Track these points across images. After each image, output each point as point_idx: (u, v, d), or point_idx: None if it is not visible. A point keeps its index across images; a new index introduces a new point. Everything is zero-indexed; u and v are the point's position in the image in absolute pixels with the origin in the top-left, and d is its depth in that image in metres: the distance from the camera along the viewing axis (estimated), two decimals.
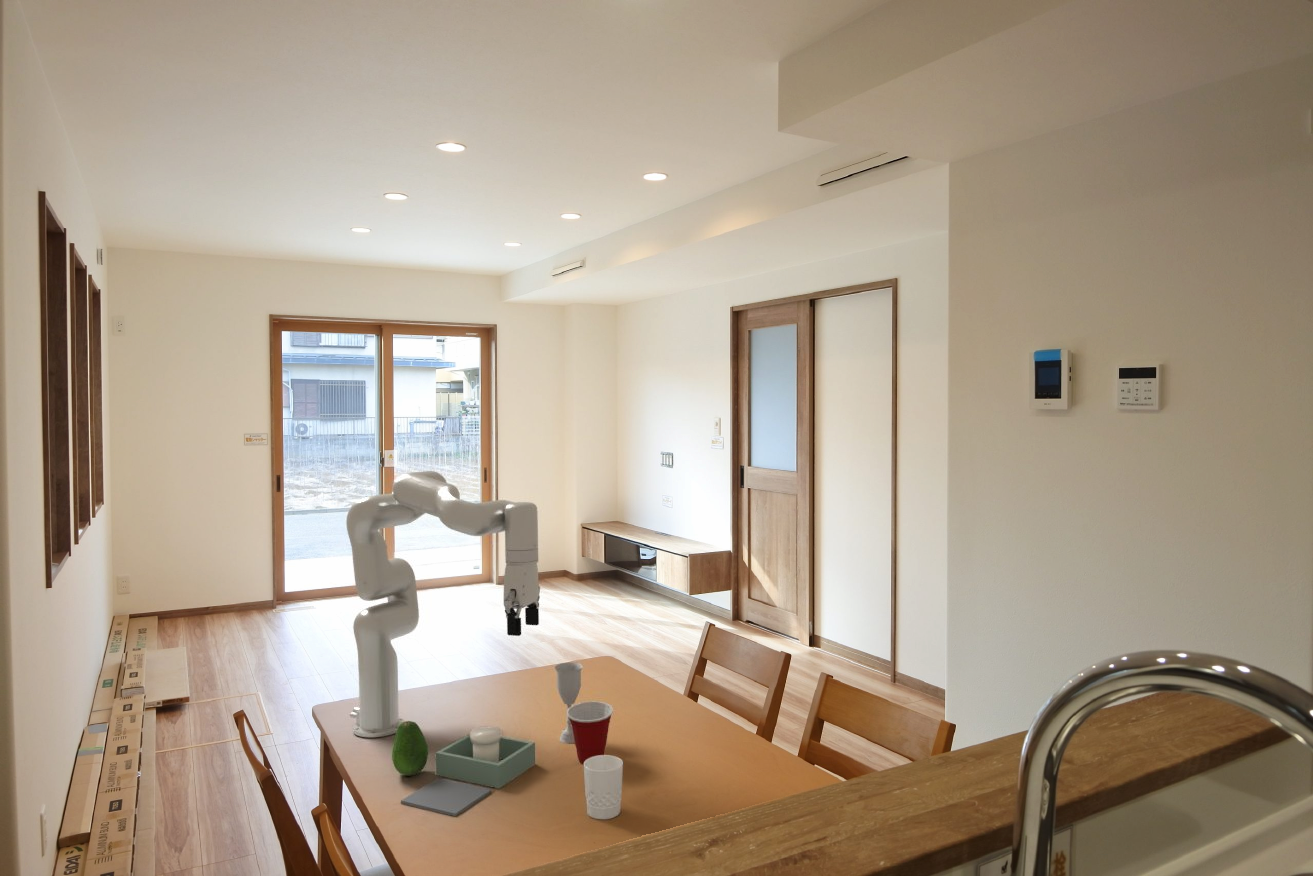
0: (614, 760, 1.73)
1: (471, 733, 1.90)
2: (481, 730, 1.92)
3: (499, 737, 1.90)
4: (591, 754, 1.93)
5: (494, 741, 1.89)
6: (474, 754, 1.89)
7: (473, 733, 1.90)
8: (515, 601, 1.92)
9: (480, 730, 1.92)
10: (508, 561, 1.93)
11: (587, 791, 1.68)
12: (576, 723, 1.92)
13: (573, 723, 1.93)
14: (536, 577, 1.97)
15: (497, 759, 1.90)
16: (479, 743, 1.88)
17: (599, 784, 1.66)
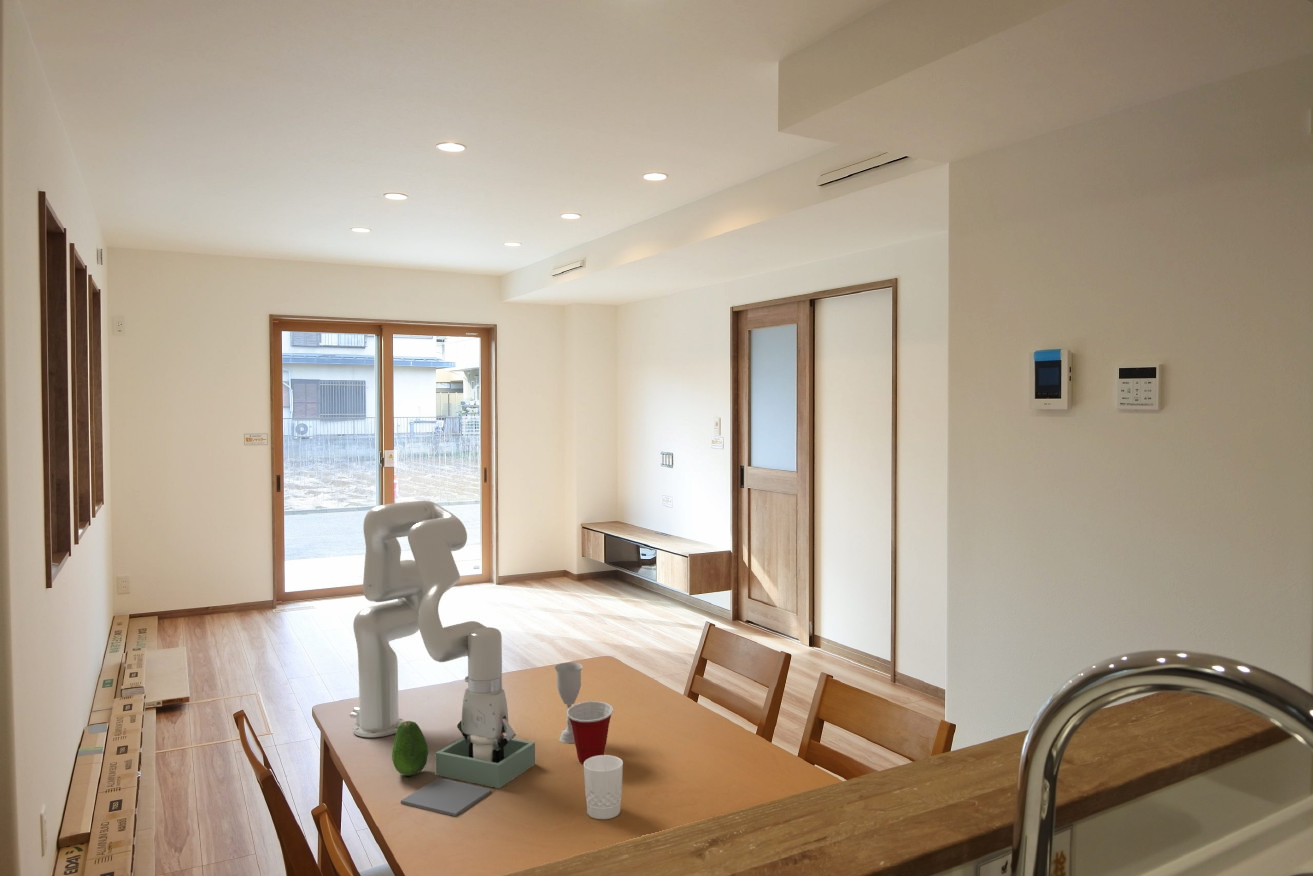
0: (614, 760, 1.73)
1: None
2: None
3: (499, 737, 1.90)
4: (591, 754, 1.93)
5: None
6: (474, 754, 1.89)
7: None
8: None
9: None
10: (492, 691, 1.88)
11: (587, 791, 1.68)
12: (576, 723, 1.92)
13: (573, 723, 1.93)
14: None
15: None
16: (479, 743, 1.88)
17: (599, 784, 1.66)
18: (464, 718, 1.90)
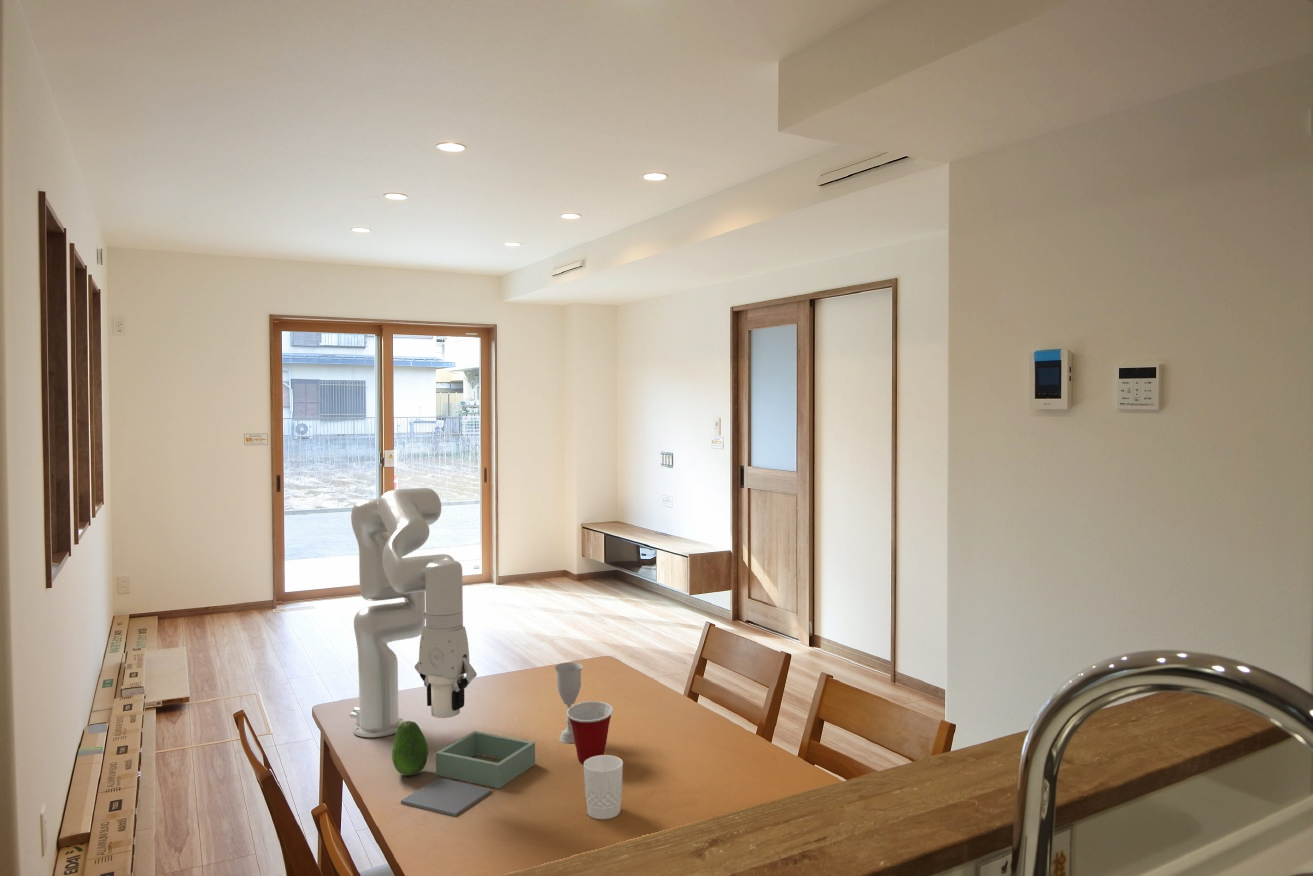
0: (614, 760, 1.73)
1: None
2: None
3: (459, 677, 1.75)
4: (591, 754, 1.93)
5: None
6: (432, 696, 1.75)
7: None
8: None
9: None
10: (451, 627, 1.73)
11: (587, 791, 1.68)
12: (576, 723, 1.92)
13: (573, 723, 1.93)
14: None
15: None
16: (437, 683, 1.73)
17: (599, 784, 1.66)
18: (421, 657, 1.76)
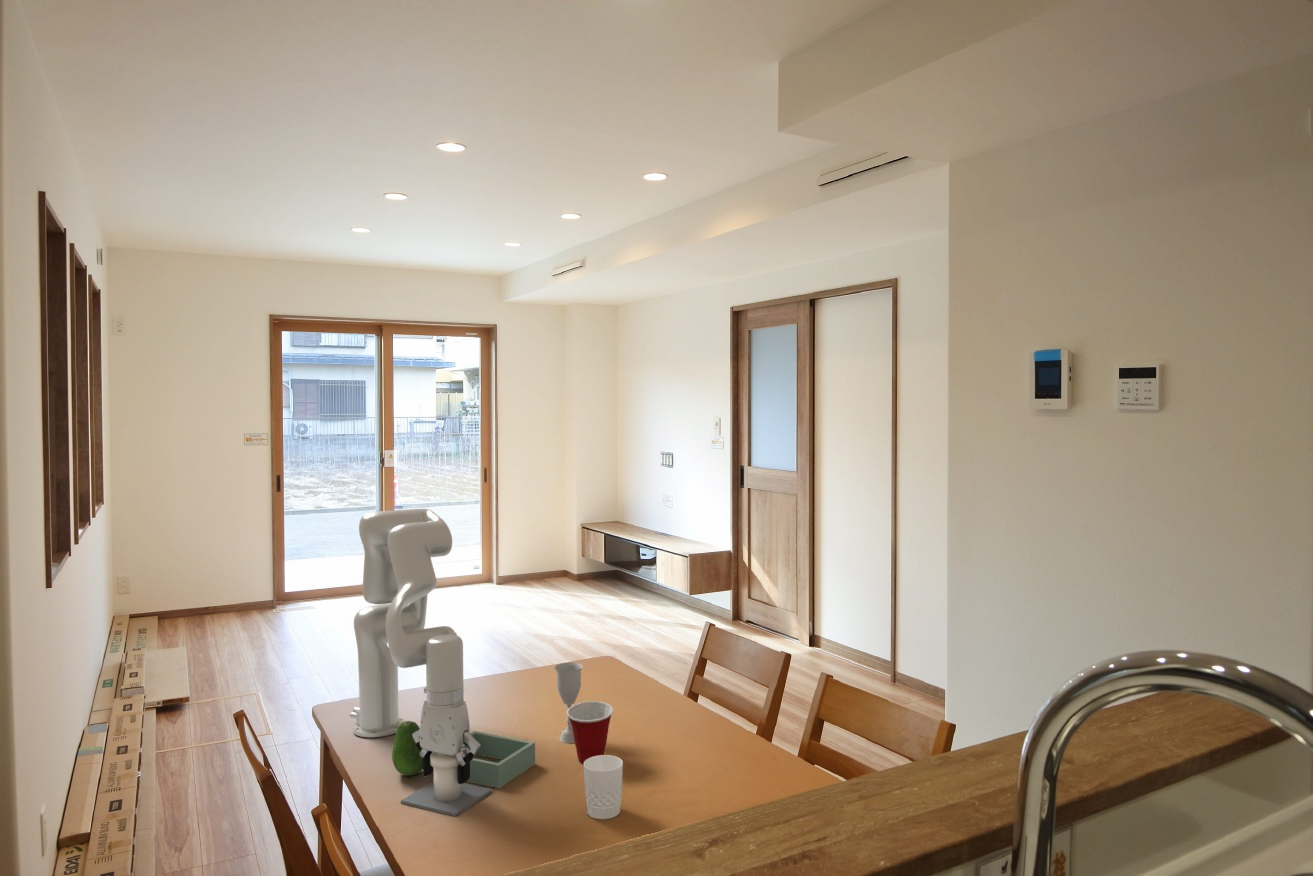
0: (614, 760, 1.73)
1: (431, 756, 1.76)
2: None
3: None
4: (591, 754, 1.93)
5: (456, 764, 1.74)
6: (434, 778, 1.75)
7: (434, 756, 1.76)
8: None
9: None
10: (452, 704, 1.74)
11: (587, 791, 1.68)
12: (576, 723, 1.92)
13: (573, 723, 1.93)
14: None
15: (459, 784, 1.76)
16: (439, 767, 1.74)
17: (599, 784, 1.66)
18: (422, 732, 1.76)
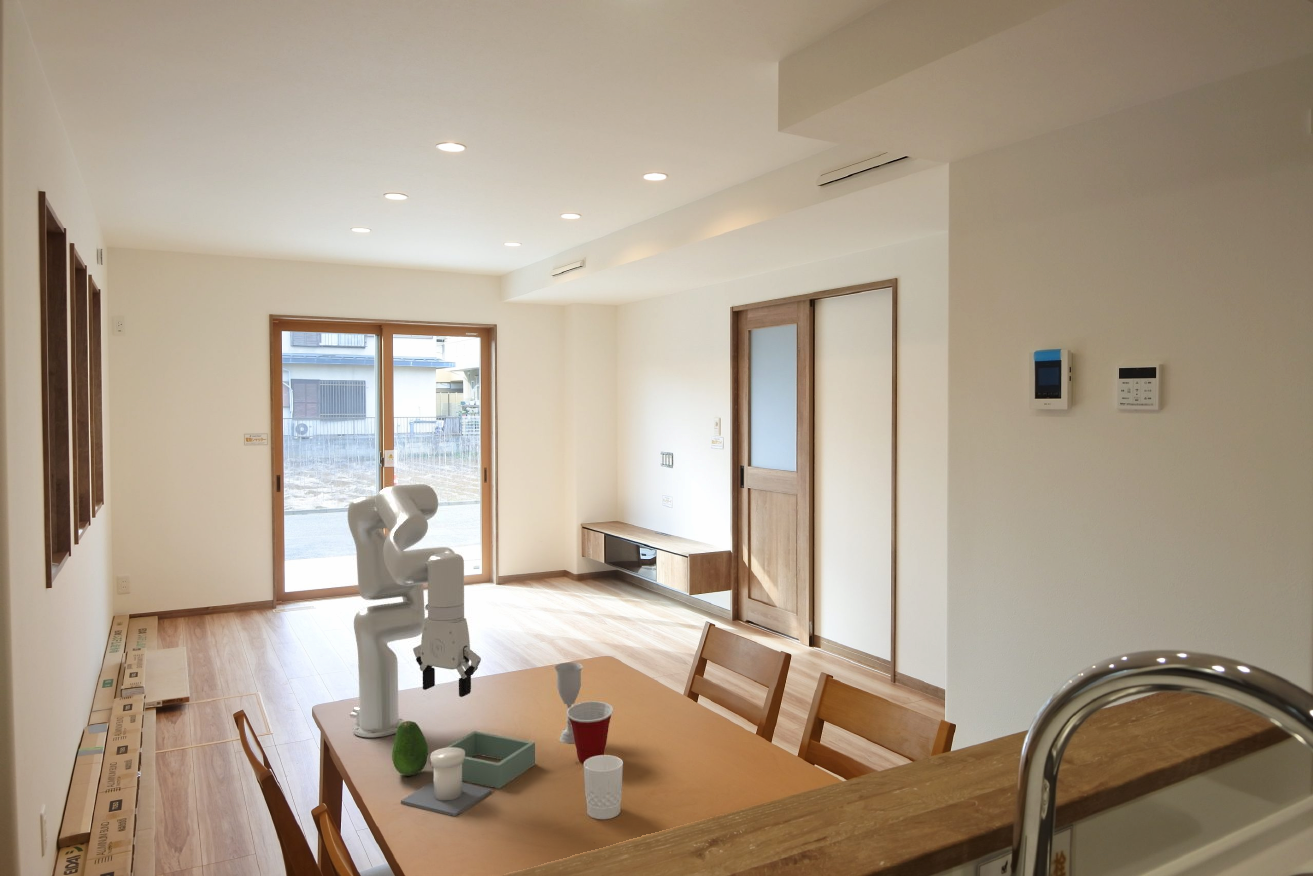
0: (614, 760, 1.73)
1: (432, 755, 1.76)
2: (443, 752, 1.78)
3: (462, 759, 1.76)
4: (591, 754, 1.93)
5: (456, 764, 1.75)
6: (434, 778, 1.75)
7: (434, 755, 1.76)
8: None
9: (442, 752, 1.78)
10: (452, 619, 1.77)
11: (587, 791, 1.68)
12: (576, 723, 1.92)
13: (573, 723, 1.93)
14: None
15: (459, 783, 1.76)
16: (439, 766, 1.74)
17: (599, 784, 1.66)
18: (423, 647, 1.80)
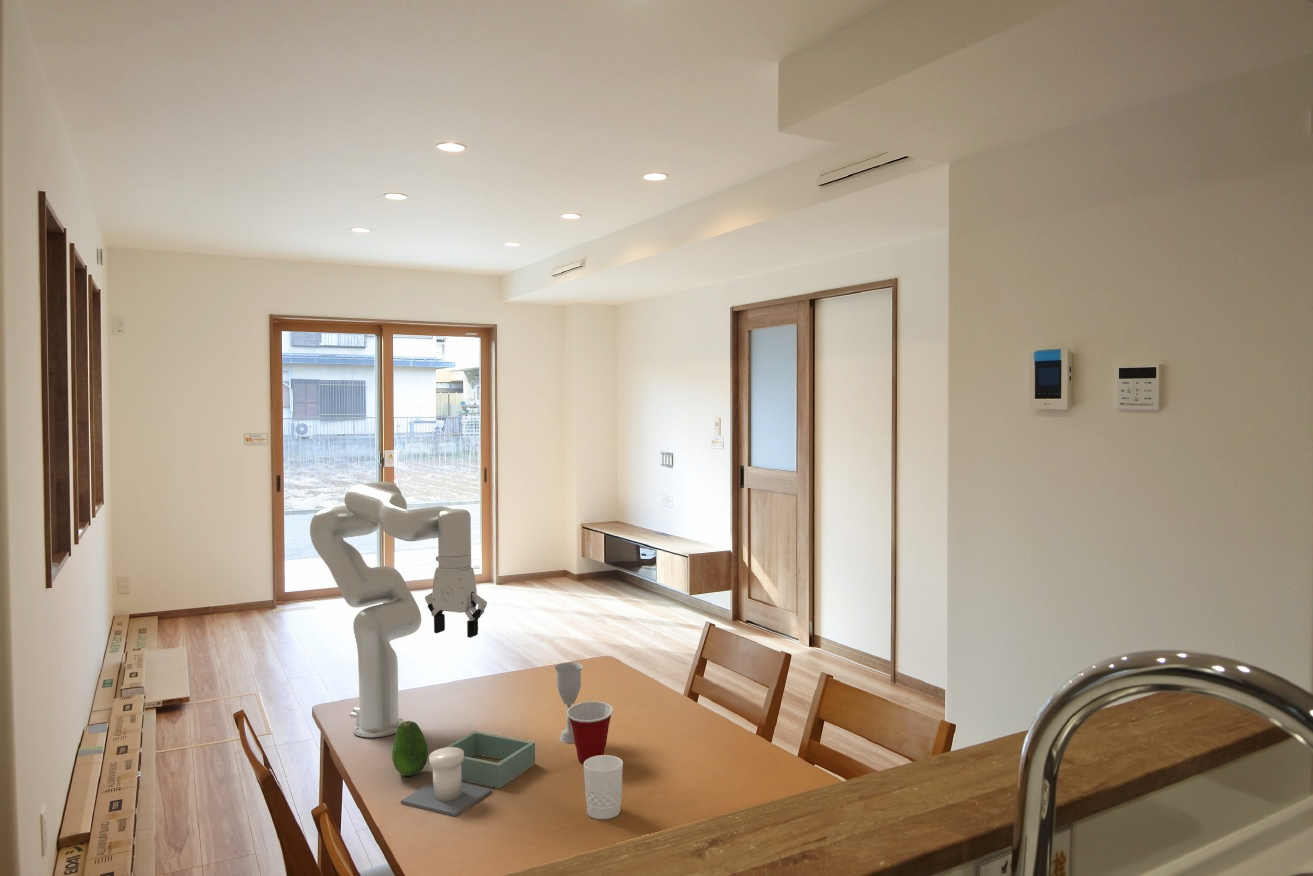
0: (614, 760, 1.73)
1: (430, 756, 1.76)
2: (442, 752, 1.78)
3: (460, 760, 1.75)
4: (591, 754, 1.93)
5: (454, 765, 1.74)
6: (434, 778, 1.75)
7: (432, 756, 1.76)
8: None
9: (441, 752, 1.77)
10: (461, 567, 1.97)
11: (587, 791, 1.68)
12: (576, 723, 1.92)
13: (573, 723, 1.93)
14: None
15: (459, 784, 1.76)
16: (438, 767, 1.73)
17: (599, 784, 1.66)
18: (434, 594, 1.99)
